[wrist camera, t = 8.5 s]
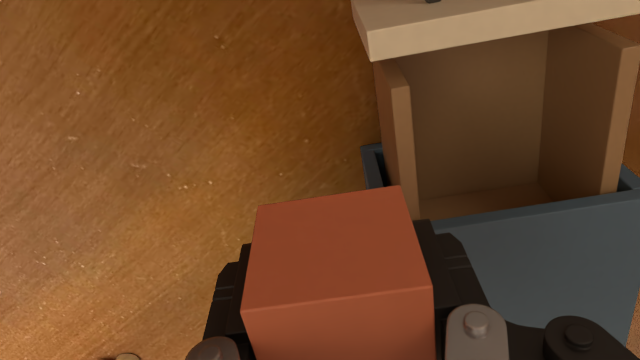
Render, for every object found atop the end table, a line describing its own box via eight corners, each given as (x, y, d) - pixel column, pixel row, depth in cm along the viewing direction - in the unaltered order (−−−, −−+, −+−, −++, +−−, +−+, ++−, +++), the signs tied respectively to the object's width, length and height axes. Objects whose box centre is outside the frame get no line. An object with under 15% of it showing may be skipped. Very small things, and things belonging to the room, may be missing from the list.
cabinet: (359, 145, 30) (379, 238, 22) (561, 112, 29) (662, 195, 21) (383, 307, 37) (405, 422, 29) (544, 284, 36) (614, 396, 28)
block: (257, 204, 14) (238, 311, 10) (400, 183, 13) (433, 286, 10) (285, 307, 16) (278, 425, 12) (409, 290, 16) (439, 407, 12)
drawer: (337, -99, 22) (350, -99, 16) (583, -149, 21) (708, -172, 15) (378, 207, 31) (397, 290, 25) (552, 179, 30) (621, 258, 24)
